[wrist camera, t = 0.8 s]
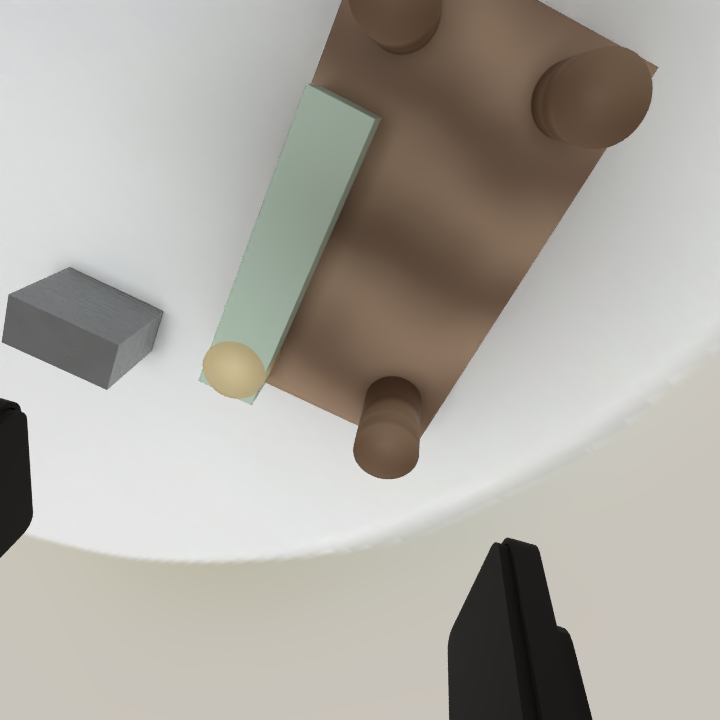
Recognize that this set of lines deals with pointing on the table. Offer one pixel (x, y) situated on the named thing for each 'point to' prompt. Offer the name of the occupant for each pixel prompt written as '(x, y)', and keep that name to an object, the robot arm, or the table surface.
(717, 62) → the table surface
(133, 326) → the block
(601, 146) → the stool seat
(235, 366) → the folding leg
